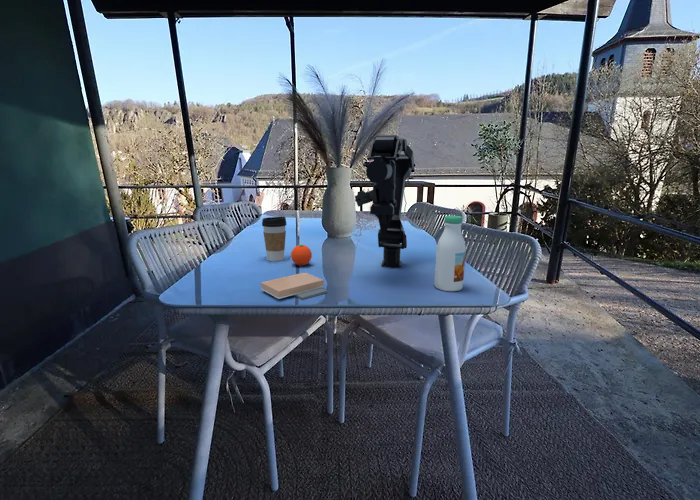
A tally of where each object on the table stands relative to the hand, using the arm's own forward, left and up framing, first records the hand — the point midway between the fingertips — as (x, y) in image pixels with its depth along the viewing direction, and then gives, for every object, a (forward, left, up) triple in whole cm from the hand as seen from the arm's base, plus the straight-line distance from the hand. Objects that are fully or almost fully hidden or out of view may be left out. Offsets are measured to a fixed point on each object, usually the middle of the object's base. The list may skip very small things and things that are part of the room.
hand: (383, 234), depth 107 cm
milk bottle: (+6, +19, -13) cm, 24 cm away
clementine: (-8, -28, -13) cm, 32 cm away
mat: (+15, -21, -13) cm, 29 cm away
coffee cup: (-13, -39, -13) cm, 43 cm away
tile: (+11, -18, -11) cm, 24 cm away
